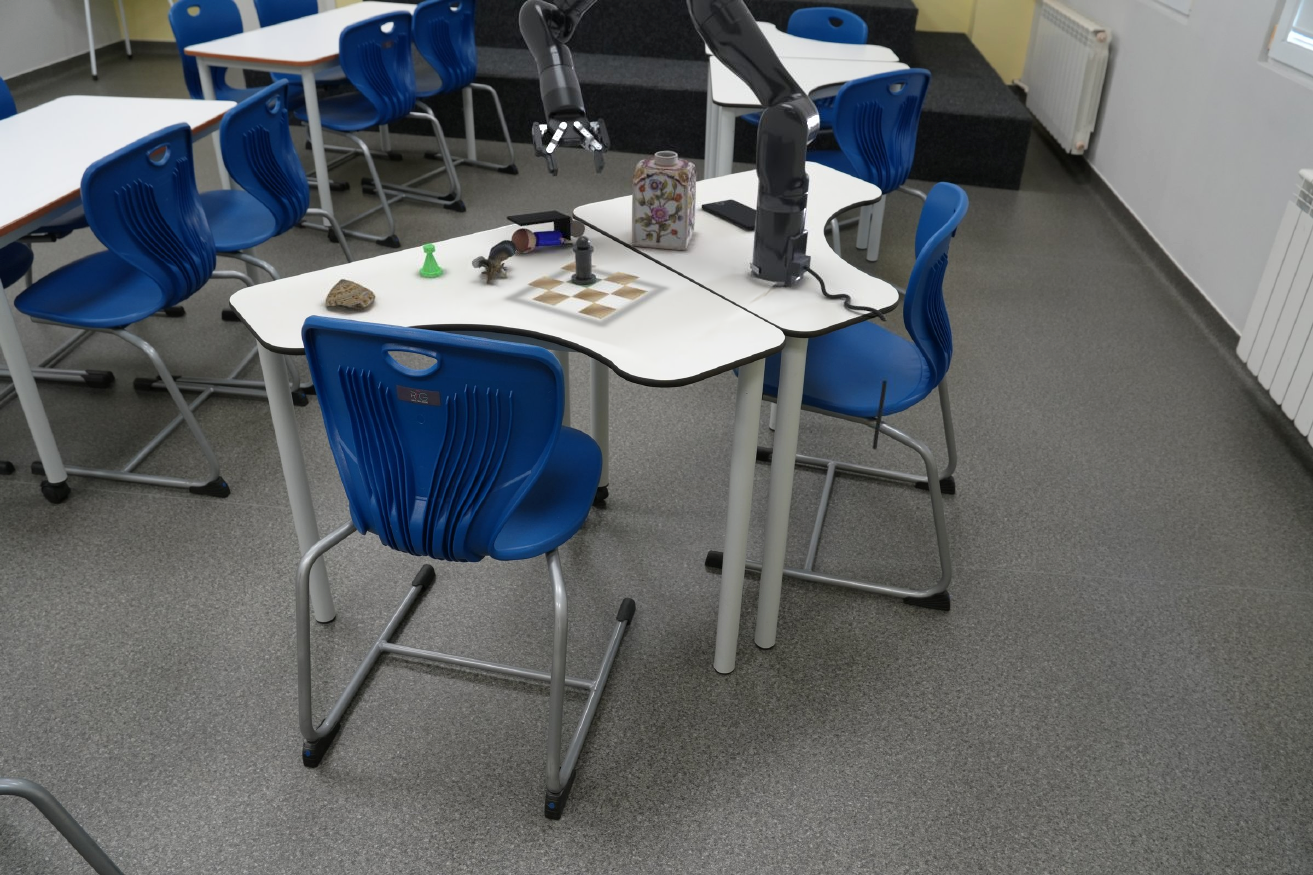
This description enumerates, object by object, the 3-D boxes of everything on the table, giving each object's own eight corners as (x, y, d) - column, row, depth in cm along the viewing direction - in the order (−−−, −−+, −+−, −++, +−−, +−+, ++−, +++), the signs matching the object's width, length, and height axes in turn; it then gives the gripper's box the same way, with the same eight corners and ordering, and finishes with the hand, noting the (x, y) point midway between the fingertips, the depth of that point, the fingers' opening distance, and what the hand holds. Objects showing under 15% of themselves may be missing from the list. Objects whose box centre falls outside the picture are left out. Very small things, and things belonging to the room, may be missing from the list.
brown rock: (352, 306, 166) (319, 280, 167) (347, 331, 169) (315, 305, 171) (387, 291, 172) (355, 265, 173) (382, 315, 175) (350, 290, 177)
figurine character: (567, 243, 206) (504, 248, 197) (570, 207, 202) (505, 211, 194) (584, 252, 201) (520, 258, 193) (587, 216, 198) (522, 220, 189)
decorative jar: (695, 233, 209) (699, 148, 200) (687, 251, 199) (690, 163, 190) (640, 228, 211) (641, 144, 201) (629, 246, 201) (630, 159, 192)
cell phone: (731, 203, 228) (731, 199, 227) (780, 224, 215) (780, 220, 214) (700, 208, 223) (700, 204, 223) (748, 231, 211) (748, 227, 210)
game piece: (415, 273, 185) (412, 243, 182) (434, 267, 188) (431, 237, 185) (428, 279, 183) (425, 248, 180) (447, 273, 186) (444, 243, 183)
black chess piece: (601, 279, 182) (600, 235, 178) (586, 287, 179) (586, 242, 174) (580, 274, 184) (580, 230, 180) (566, 281, 181) (565, 237, 176)
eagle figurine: (517, 280, 181) (526, 255, 187) (493, 250, 177) (503, 226, 184) (486, 297, 184) (495, 272, 190) (461, 268, 180) (472, 244, 187)
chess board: (662, 288, 182) (662, 282, 181) (601, 324, 167) (601, 318, 166) (575, 266, 191) (575, 260, 190) (510, 298, 176) (509, 292, 175)
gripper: (527, 86, 181) (543, 165, 177) (601, 83, 185) (618, 159, 181) (522, 110, 188) (538, 185, 184) (594, 106, 192) (610, 180, 188)
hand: (577, 172), depth 183 cm, fingers open, 8 cm apart
